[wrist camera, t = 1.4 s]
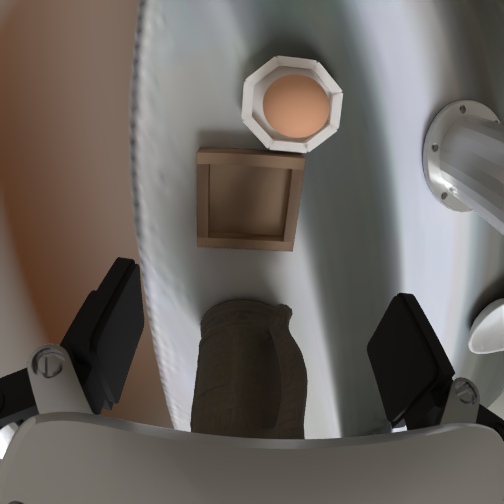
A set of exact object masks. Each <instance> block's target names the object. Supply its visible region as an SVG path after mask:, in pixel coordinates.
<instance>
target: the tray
mask: <svg viewBox="0 0 504 504" xmlns="http://www.w3.org/2000/svg"><path fill="white" fill-rule="evenodd" d="M305 160H306V159H305V157H304V156H303V155H302V154H300V153H290V152H278V151H265V150H250V149H230V148H200V149H199V150H198V152H197V242H198V247H214V248H234V249H254V250H274V251H293V246H294V239H295V233H296V226H297V219H298V212H299V205H300V198H301V191H302V183H303V176H304V168H305Z"/></svg>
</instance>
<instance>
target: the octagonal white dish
mask: <svg viewBox="0 0 504 504" xmlns="http://www.w3.org/2000/svg"><path fill="white" fill-rule="evenodd" d="M290 74H299V75H304V76H307V77H310V78H312V79H314V80H315V81H316V82H318V83H319V84H320V85H321V86H322V87H323V89H324V90H325V92H326V94H327V96H328V99H329V105H330V109H329V115H328V118H327V120H326V122H325V124H324V125H323V126H322V128H321V129H319V130H318V131H317V132H316V133H314V134H312V135H310V136H307V137H301V138H293V137H288V136H285V135H282V134H280V133H279V132H277V131H276V130H275V129H273V128H272V127H271V126H270V124H269V123H268V122H267V120H266V118H265V116H264V112H263V98H264V94H265V92H266V90H267V89H268V87H269V86H270V85H271V84H272V83H273V82H274V81H275V80H277V79H278V78H280V77H283V76H286V75H290ZM245 80H246V82H244V87H243V102H242V118H241V119H243V120H242V121H243V122H244V124H245V125H246V126H247V127H248V128H249V129H250V130H251V131H252V132H253V133H254V134H255V135H256V136H257V138H258V139H259V140H260V141H261V142H262V143H263V144H264V145H265V146H266V148H267V149H268V148H269V149H270V150H279V151H291V152H301V153H307V151H308V152H310V151H311V150H313V149H314V148H315V147H317V146H318V145H319V144H321V143H322V142H323V141H325V140H326V139H327V138H328V137H330V136H331V135H332V134H334V133H335V132H336V131H337V129H339V122H340V114H341V106H342V98H343V93H341V92H342V90H341V89H340V87H339V86H338V85H337V84H336V82H335V81H334V80H333V79H332V77H331V76H330V75H329V74H328V72H327V71H326V70H325V69H324V67H323V66H322V65H321V64H320V63H319V62H317V61H316V60H309V59H302V58H295V57H286V56H277V57H273V58H272V59H271V60H269V61H268V62H267V63H266V64H264V65H263V66H262V67H260V68H259V69H258V70H257V71H255V72H254V73H253V74H252V75H250V76H249V77H248V78H247V79H245ZM336 128H337V129H336Z"/></svg>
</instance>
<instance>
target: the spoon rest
mask: <svg viewBox="0 0 504 504" xmlns="http://www.w3.org/2000/svg"><path fill="white" fill-rule="evenodd" d="M468 346H469V349H470V350H471V351H472V352H474V353H478V354H485V353H492V352H497V351H502V350H504V298H502V299H498V300H496V301H494V302H492V303H490V304H489V305H488V306H486V307H485V308H484V309H483V310H482V311H481V312H480V314H479V315H478V316H477V318H476V319H475V321H474V323H473V325H472V327H471V330H470V334H469V340H468Z"/></svg>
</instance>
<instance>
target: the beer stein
mask: <svg viewBox="0 0 504 504" xmlns="http://www.w3.org/2000/svg"><path fill="white" fill-rule="evenodd" d="M291 316H292V309H291V308H289V307H288V306H287V305H284V304H279V305H278V306H277V308H276V309H275V308H273V307H271V306H268V305H266V304H263V303H259V302H256V301H235V300H233V301H229V302H225V303H222V304H220V305H217V306H215V307H213V308H212V309H210V310H209V311H208V312H207V313H206V314H205V316H204V317H203V319H202V322H201V338H202V339H201V341H200V343H199V355H198V361H197V363H198V367H197V372H196V381H195V389H194V397H193V404H192V411H191V422H190V426H191V432H193V433H201V434H209V435H218V436H228V437H241V438H257V439H293V440H296V439H305V437H304V415H305V407H306V398H307V370H306V367H305V363H304V359H303V355H302V353H301V350H300V348H299V347H298V345H297V343H296V342H295V340H294V339H293V337H292V336H291V334H290V332H289V326H288V325H289V321H290V318H291Z"/></svg>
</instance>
